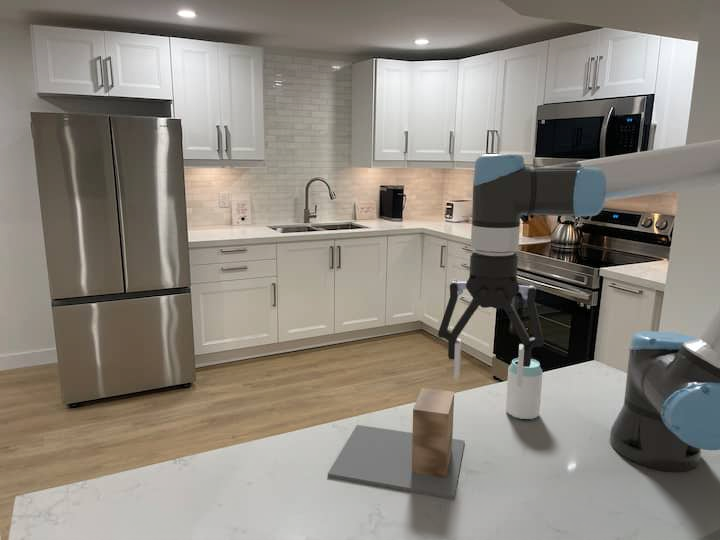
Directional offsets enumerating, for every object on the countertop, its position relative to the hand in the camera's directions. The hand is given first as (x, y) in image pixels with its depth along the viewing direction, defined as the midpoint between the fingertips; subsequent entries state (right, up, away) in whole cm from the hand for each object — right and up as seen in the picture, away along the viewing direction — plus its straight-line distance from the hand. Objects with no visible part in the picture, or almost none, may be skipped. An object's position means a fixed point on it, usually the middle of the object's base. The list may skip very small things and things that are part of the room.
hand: (487, 380), depth 90 cm
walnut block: (-9, -16, +6) cm, 19 cm away
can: (+14, -13, +25) cm, 32 cm away
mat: (-14, -16, +8) cm, 23 cm away
